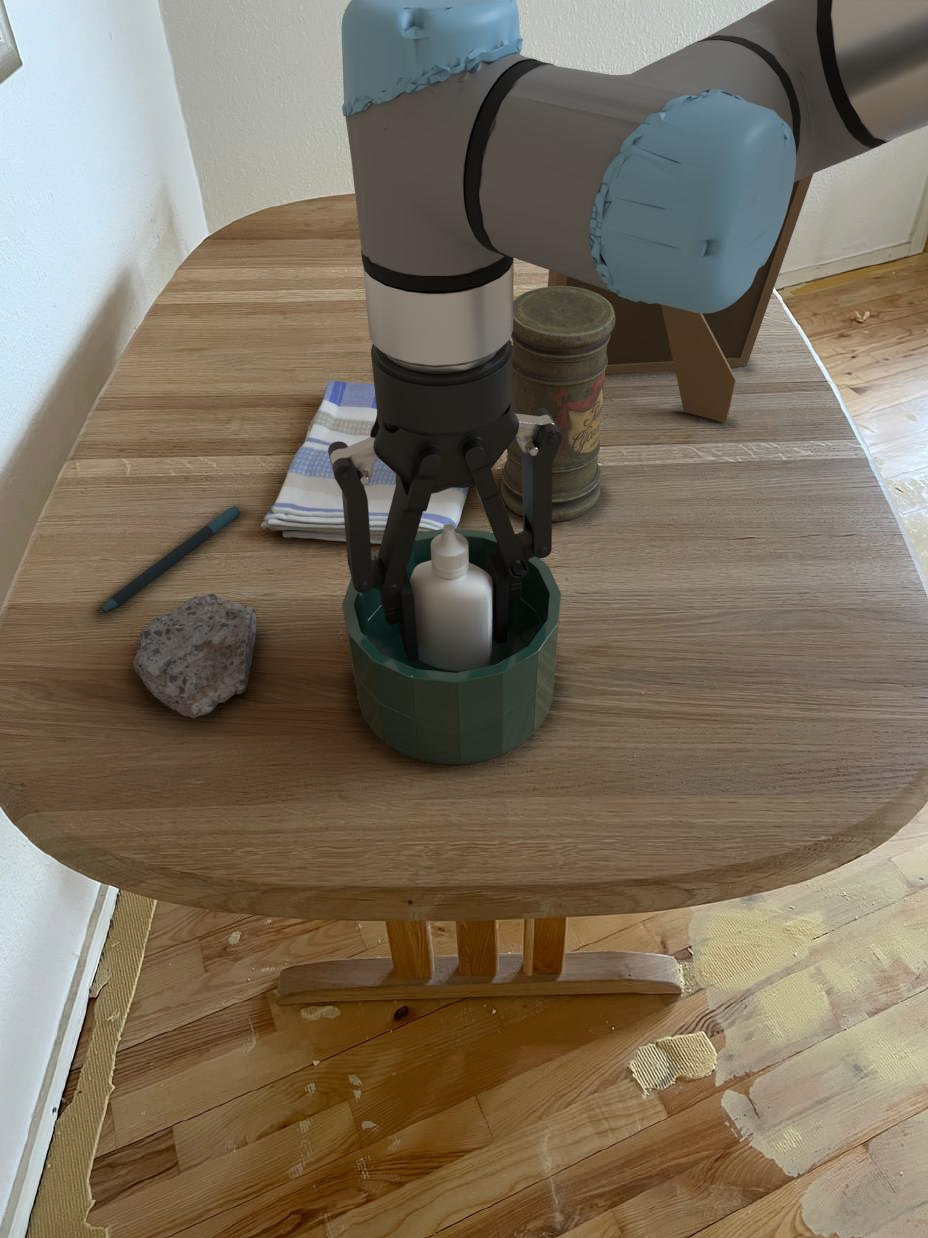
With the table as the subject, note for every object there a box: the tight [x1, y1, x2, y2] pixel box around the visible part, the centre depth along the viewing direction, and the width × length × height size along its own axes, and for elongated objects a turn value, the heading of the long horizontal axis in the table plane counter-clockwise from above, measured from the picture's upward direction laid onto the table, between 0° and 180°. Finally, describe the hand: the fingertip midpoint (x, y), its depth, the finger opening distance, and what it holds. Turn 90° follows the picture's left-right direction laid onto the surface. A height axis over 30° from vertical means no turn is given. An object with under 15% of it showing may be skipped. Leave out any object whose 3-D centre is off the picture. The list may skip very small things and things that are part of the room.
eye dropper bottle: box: [410, 524, 494, 672], centre depth 62 cm, size 4×6×12 cm
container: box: [500, 286, 615, 523], centre depth 77 cm, size 9×9×18 cm
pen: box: [100, 505, 241, 613], centre depth 78 cm, size 1×16×1 cm, turn 145°
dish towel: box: [260, 380, 470, 545], centre depth 86 cm, size 17×24×3 cm
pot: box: [341, 528, 562, 766], centre depth 65 cm, size 15×15×9 cm
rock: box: [133, 593, 258, 719], centre depth 68 cm, size 9×11×4 cm
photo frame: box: [547, 173, 815, 423], centre depth 87 cm, size 15×22×25 cm
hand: (453, 638), depth 64 cm, fingers closed on eye dropper bottle, 6 cm apart
